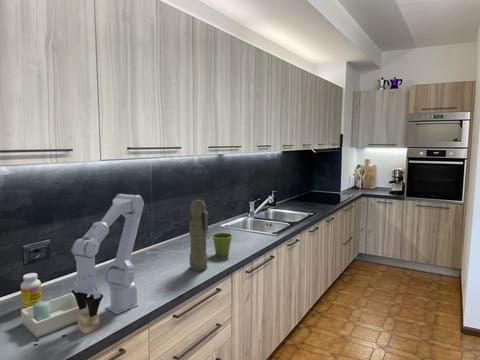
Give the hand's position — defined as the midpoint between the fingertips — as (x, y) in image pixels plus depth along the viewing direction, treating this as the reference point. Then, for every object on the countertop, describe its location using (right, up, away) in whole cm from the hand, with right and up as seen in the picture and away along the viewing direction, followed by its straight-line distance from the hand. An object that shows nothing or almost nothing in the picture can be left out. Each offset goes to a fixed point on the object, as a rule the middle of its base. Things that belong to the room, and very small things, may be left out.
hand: (87, 312), depth 116 cm
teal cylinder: (-17, -5, +2) cm, 18 cm away
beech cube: (0, -6, +1) cm, 6 cm away
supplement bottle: (-28, -4, +15) cm, 32 cm away
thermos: (+31, 0, +57) cm, 64 cm away
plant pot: (+42, +3, +77) cm, 88 cm away
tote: (-14, -5, +6) cm, 16 cm away
